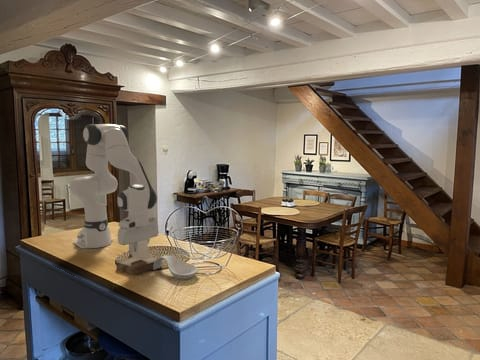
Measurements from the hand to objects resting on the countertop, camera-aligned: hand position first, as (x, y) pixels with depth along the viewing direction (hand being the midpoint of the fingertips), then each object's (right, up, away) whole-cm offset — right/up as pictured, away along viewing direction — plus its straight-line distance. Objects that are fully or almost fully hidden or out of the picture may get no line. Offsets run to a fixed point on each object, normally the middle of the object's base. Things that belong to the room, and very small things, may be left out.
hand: (139, 250), depth 164 cm
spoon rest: (+17, -10, -6) cm, 21 cm away
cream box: (0, -3, 0) cm, 3 cm away
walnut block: (-1, -9, +1) cm, 9 cm away
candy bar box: (-7, -6, +24) cm, 26 cm away
